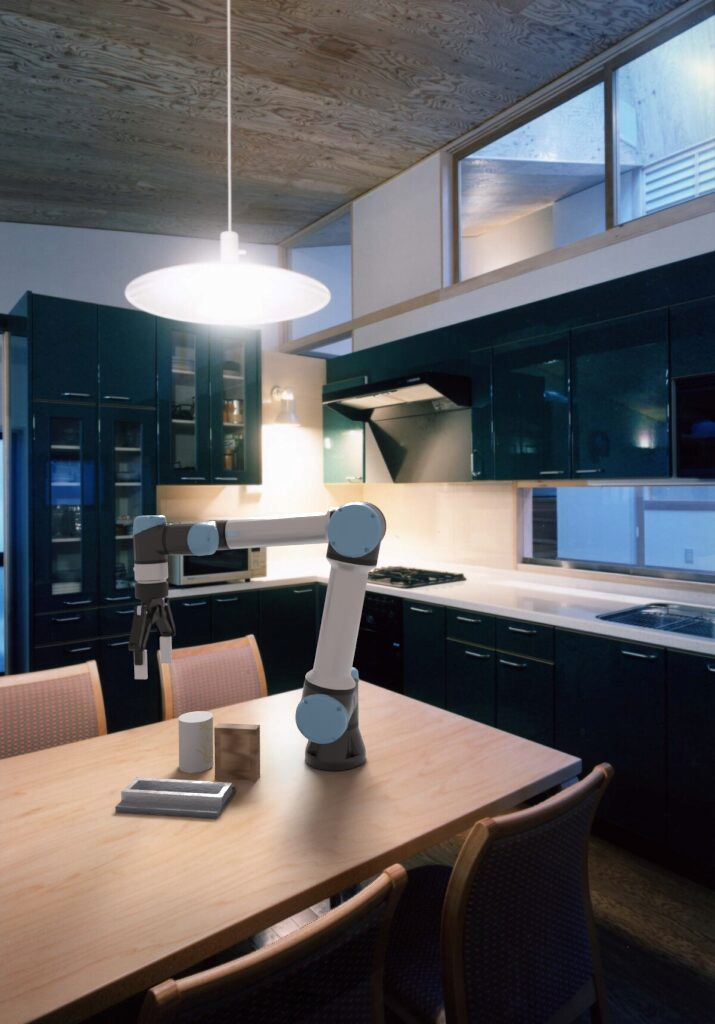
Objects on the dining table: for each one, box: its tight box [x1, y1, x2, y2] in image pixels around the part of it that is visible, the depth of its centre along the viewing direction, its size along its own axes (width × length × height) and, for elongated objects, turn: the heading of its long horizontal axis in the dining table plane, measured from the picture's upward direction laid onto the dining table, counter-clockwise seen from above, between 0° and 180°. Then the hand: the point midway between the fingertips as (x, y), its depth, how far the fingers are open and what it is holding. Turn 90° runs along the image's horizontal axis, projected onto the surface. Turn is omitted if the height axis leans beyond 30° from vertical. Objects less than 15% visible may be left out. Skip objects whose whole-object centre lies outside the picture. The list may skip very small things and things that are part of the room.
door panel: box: [213, 722, 261, 782], centre depth 152 cm, size 10×3×12 cm, turn 83°
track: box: [114, 777, 237, 820], centre depth 140 cm, size 22×12×3 cm, turn 83°
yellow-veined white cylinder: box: [177, 710, 214, 774], centre depth 159 cm, size 8×8×12 cm
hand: (154, 670), depth 154 cm, fingers open, 13 cm apart
